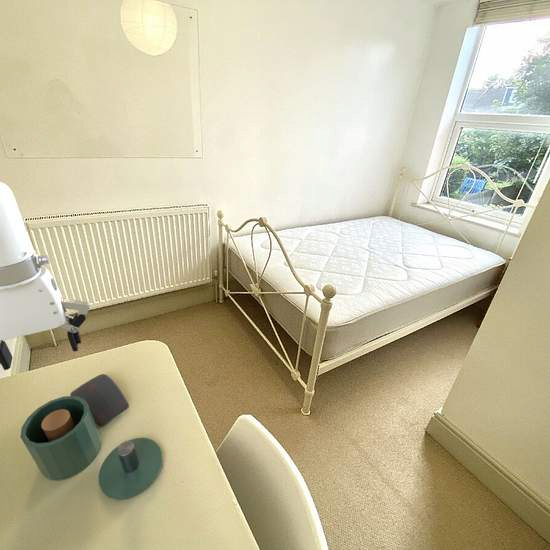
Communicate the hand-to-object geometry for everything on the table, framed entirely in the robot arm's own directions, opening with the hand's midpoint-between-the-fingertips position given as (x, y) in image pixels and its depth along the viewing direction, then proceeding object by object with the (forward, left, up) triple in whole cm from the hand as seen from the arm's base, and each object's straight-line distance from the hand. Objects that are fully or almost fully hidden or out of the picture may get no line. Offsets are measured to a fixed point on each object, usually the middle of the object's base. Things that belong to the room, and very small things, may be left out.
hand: (43, 354), depth 54 cm
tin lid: (+9, -12, -23) cm, 27 cm away
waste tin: (-1, -3, -23) cm, 23 cm away
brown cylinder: (-1, -3, -23) cm, 23 cm away
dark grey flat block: (+4, +7, -23) cm, 25 cm away
